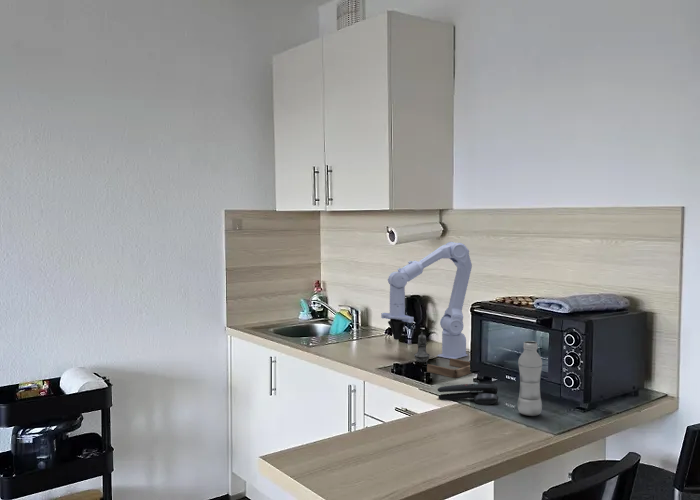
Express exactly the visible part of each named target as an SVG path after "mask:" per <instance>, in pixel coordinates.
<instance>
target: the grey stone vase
mask: <svg viewBox="0 0 700 500" xmlns="http://www.w3.org/2000/svg"><path fill="white" fill-rule="evenodd" d="M417 338H418V339H417V340H418V341H417V352H416V353H414V355H413V357H414V359H415V361H416V362H419V363H421V364H424V365H428V364H429V363H428V361H429V359H430V356H431V354H430V353H428V352H427V345H428V344H427V336H426V335H425V334H424V333H423V332H421V333H420V334H419V335H418V337H417ZM425 362H426V364H425Z"/></svg>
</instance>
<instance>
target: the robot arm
mask: <svg viewBox="0 0 700 500" xmlns="http://www.w3.org/2000/svg"><path fill="white" fill-rule="evenodd" d="M442 259H450V260H451V261H452V263H453V264H454V265H455V266H456V271H455V277H454V282H453V285H452V290H451V293H450V294H451V295H450V298H449V302H448V307H447V308H446V310H445V311H444V314H443V316H442V317H441V319H440V322H439V325H440V328H442V332H441V353H440V354H437V355H436V356H437V357H438V358H439V357H440V358H445V359H449V360H450V358H453V359H460V358H464V357H468V356H469V353H468V354H467V338H466V336H465V334H464V333H463V330H464V322H463V320H464V314H463V308H464V302H465V298H466V294H467V290H468V289H467V288H468V284H469V281H470V276H471V273H472V272H471V271H472V267H473V266H472V265H473V264H472V260H471V257H470V250H469V248H468V247H467V246H466V245H465V244H464V243H462V242H454V241H448V242H447V243H445V244H443V245H440V246H439V247H438V248H436V249H435V250H433V251H432V252H430V253H429V254H427V255H426V256H425V257H423V258H422V259H420V260H413V261H412V260H409V261H407V264H406V265H405V266H403V267H399V268H397V271H393V272H391V273H390V274H389V275H388V278H387V281H388V284H389V312H382V313H381V316H380V319H386V320H387V319H388V321H387V323H388V326H389V328H390V329H391V331H392V332H391V333H392V337H393V340H395V341H398V340H401V336H402V333H403V330H404V328H405V325H407V323H408V324H411V323H414V319H415V318H414V316H410V315H407V314H405V313H406V311H405V310H406V309H405V308H406V290H405V288H406V285H407V284H408V283H409V282H410V281H412V280H413V279H416V278H417V277H419V275H422V274H423V271H424V269H425V268H427V267H429V266H430V265H432V264H435V263H436V262H438V261H440V260H442Z"/></svg>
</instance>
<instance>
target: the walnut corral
mask: <svg viewBox="0 0 700 500" xmlns="http://www.w3.org/2000/svg"><path fill="white" fill-rule="evenodd" d="M470 362H471V361H468V360H463V359H462V360H461V359H459V358H457V359H453V358H450V359H449V366H450V367H455V368H456V369H453V368H449V367H445V366H444V367H443V366H440V365H435V364H430V363H428V365H427V366H426V372H427V373H430V374H435V375H439V376H440V375H441V376H444V377H447V378H453V379H457V378H460V377H463V376H466V375H470V374H472V373H471V372H470Z"/></svg>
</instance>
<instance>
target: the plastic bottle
mask: <svg viewBox="0 0 700 500" xmlns="http://www.w3.org/2000/svg"><path fill="white" fill-rule="evenodd" d="M522 348H523V352H521V354H520V355H519V358H518V361H517V362H518V371H519V372H518V373H519V394H518V398H517V409H518V412H519V413H520V414H521V415H524V416H529V417H536V416H538V415H540V414H541V412H542V409H543V404H542V402H543V401H542V398H541V397H542V396H541V377H542V376H541V375H542V369H543V360H542V357H541V355H540V354H539V353H538V351H537V350H538V349H539V347H538V342H537V341H535V340H525V341H523V347H522Z"/></svg>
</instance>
